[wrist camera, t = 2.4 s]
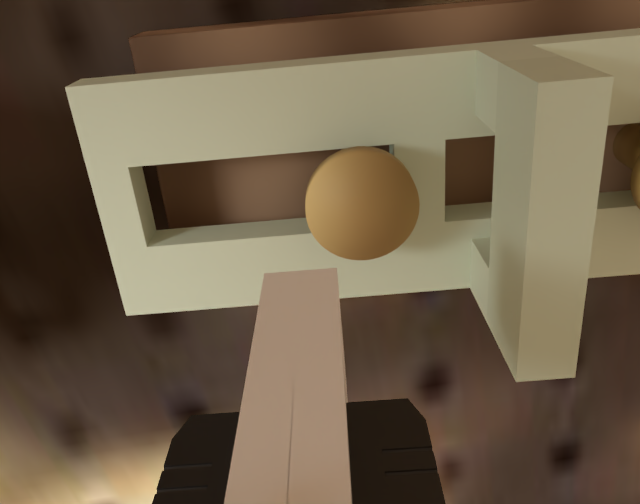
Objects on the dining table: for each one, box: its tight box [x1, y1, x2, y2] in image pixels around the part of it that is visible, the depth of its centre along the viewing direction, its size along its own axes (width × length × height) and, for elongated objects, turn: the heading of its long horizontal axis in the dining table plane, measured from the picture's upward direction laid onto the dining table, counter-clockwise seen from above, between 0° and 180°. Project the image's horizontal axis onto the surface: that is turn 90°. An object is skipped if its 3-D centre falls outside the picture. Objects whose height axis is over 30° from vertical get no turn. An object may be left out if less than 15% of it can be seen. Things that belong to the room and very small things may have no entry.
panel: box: [65, 28, 640, 382], centre depth 17 cm, size 21×8×7 cm, turn 95°
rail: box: [128, 0, 640, 260], centre depth 20 cm, size 26×10×6 cm, turn 95°
